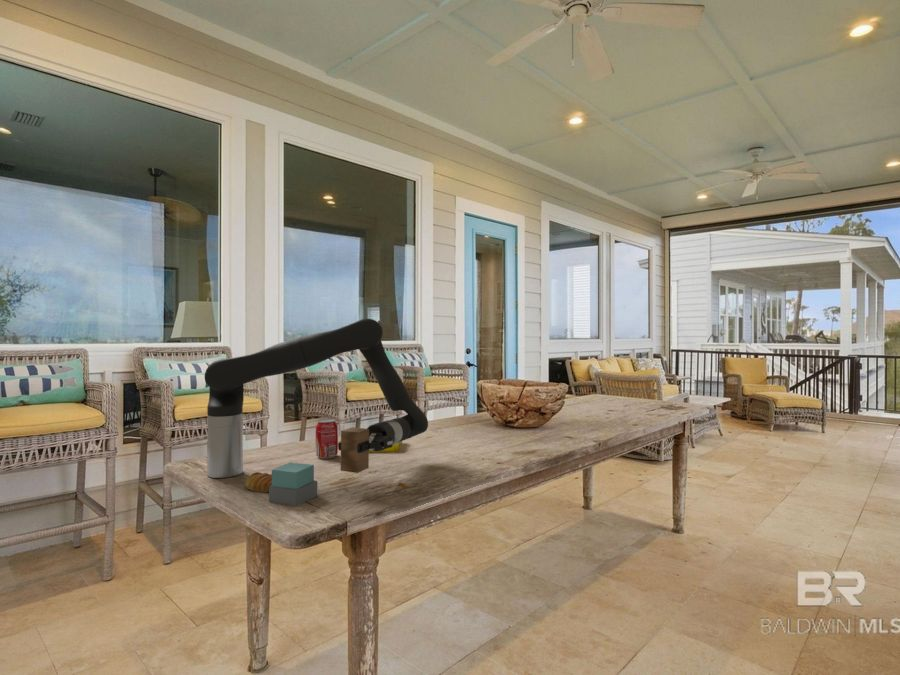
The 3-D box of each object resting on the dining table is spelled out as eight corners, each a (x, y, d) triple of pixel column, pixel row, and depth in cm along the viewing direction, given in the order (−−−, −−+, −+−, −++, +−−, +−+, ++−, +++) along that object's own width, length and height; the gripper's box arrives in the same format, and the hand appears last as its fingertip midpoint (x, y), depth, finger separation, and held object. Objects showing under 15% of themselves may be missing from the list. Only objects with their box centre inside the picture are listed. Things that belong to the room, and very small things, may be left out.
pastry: (287, 488, 128) (286, 474, 128) (265, 496, 122) (265, 481, 122) (263, 483, 133) (263, 469, 133) (241, 490, 127) (241, 475, 127)
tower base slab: (269, 502, 117) (269, 486, 117) (291, 492, 125) (291, 477, 125) (295, 507, 114) (295, 490, 114) (317, 496, 122) (317, 480, 122)
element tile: (397, 453, 166) (397, 439, 166) (353, 453, 166) (353, 439, 166) (402, 443, 181) (402, 430, 181) (362, 443, 181) (362, 430, 181)
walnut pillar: (340, 470, 123) (341, 430, 122) (352, 465, 127) (352, 427, 127) (357, 473, 121) (357, 432, 120) (368, 467, 125) (368, 428, 125)
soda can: (324, 453, 165) (324, 418, 165) (342, 455, 162) (342, 419, 162) (311, 458, 158) (310, 421, 158) (329, 460, 156) (329, 422, 156)
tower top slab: (271, 486, 117) (271, 469, 117) (290, 478, 124) (290, 462, 124) (296, 489, 115) (296, 472, 115) (313, 480, 122) (313, 464, 121)
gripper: (362, 419, 140) (325, 430, 124) (406, 423, 134) (373, 435, 119) (362, 445, 140) (325, 459, 124) (406, 450, 134) (373, 466, 119)
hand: (349, 447), depth 121 cm, fingers closed on walnut pillar, 5 cm apart
